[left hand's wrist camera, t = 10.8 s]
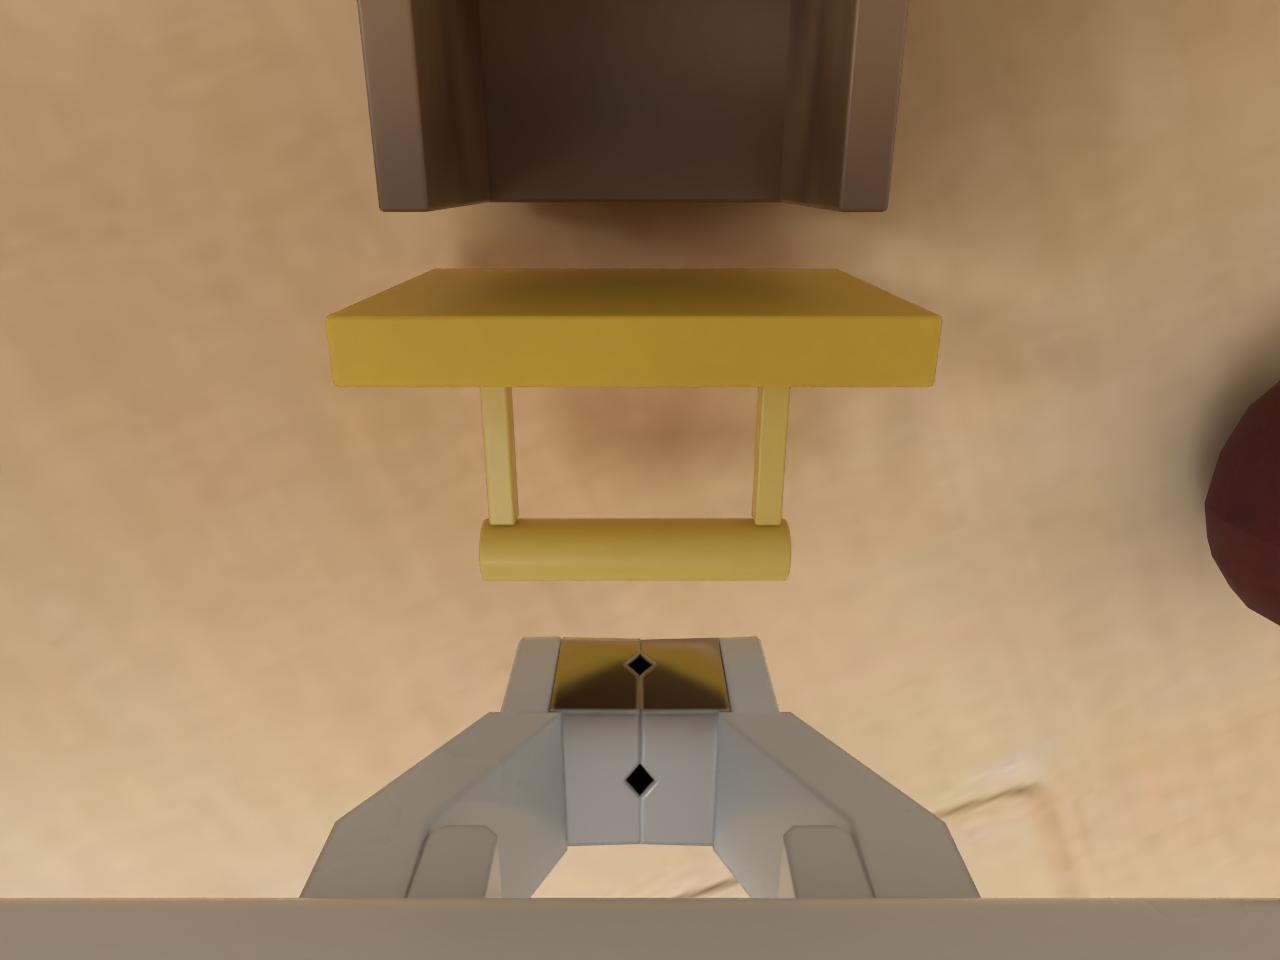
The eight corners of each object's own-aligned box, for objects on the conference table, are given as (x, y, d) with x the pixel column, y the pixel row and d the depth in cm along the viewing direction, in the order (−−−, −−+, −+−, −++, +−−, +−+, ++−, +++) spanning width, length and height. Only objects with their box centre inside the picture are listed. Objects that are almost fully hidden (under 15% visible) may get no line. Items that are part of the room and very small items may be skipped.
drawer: (818, 518, 22) (898, 671, 15) (453, 519, 22) (370, 671, 15) (917, -678, 14) (1180, -1479, 7) (349, -679, 14) (78, -1485, 7)
